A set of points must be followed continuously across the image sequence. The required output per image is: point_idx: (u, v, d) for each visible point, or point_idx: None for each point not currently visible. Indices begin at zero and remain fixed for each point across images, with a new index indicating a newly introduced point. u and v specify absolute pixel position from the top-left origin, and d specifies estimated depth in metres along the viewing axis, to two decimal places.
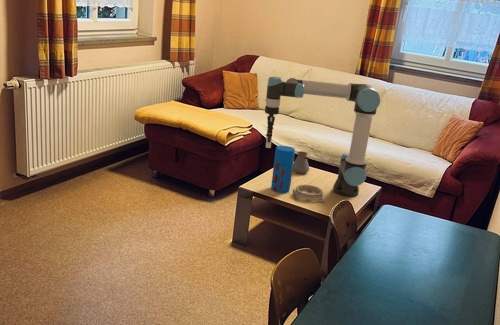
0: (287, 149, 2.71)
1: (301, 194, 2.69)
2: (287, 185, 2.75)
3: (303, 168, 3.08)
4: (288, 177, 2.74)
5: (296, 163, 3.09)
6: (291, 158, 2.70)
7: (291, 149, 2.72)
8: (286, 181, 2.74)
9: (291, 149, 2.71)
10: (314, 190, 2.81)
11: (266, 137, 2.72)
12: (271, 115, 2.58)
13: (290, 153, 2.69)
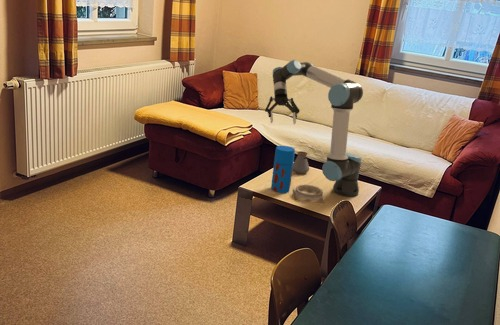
0: (287, 149, 2.71)
1: (301, 194, 2.69)
2: (287, 185, 2.75)
3: (303, 168, 3.08)
4: (288, 177, 2.74)
5: (296, 163, 3.09)
6: (291, 158, 2.70)
7: (291, 149, 2.72)
8: (286, 181, 2.74)
9: (291, 149, 2.71)
10: (314, 190, 2.81)
11: (293, 121, 2.82)
12: None
13: (290, 153, 2.69)
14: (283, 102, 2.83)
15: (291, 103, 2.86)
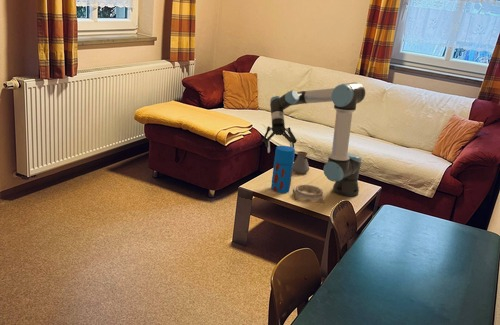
0: (287, 149, 2.71)
1: (301, 194, 2.69)
2: (287, 185, 2.75)
3: (303, 168, 3.08)
4: (288, 177, 2.74)
5: (296, 163, 3.09)
6: (291, 158, 2.70)
7: (291, 149, 2.72)
8: (286, 181, 2.74)
9: (291, 149, 2.71)
10: (314, 190, 2.81)
11: None
12: (272, 126, 2.87)
13: (290, 153, 2.69)
14: (280, 132, 2.85)
15: (288, 132, 2.87)
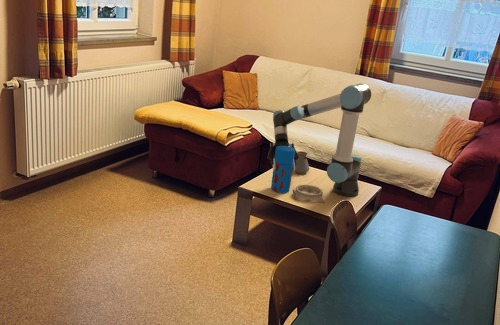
0: (287, 149, 2.71)
1: (301, 194, 2.69)
2: (287, 185, 2.75)
3: (303, 168, 3.08)
4: (288, 177, 2.74)
5: (296, 163, 3.09)
6: (291, 158, 2.70)
7: (291, 149, 2.72)
8: (286, 181, 2.74)
9: (291, 149, 2.71)
10: (314, 190, 2.81)
11: None
12: (275, 142, 2.81)
13: (290, 153, 2.69)
14: None
15: None
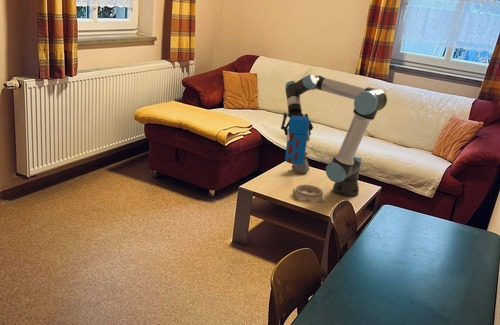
0: (301, 118, 2.64)
1: (301, 194, 2.69)
2: (302, 156, 2.68)
3: (303, 168, 3.08)
4: (303, 147, 2.67)
5: None
6: (306, 127, 2.63)
7: (306, 119, 2.65)
8: (300, 152, 2.67)
9: (306, 119, 2.64)
10: (314, 190, 2.81)
11: None
12: (288, 112, 2.74)
13: (305, 122, 2.62)
14: None
15: None
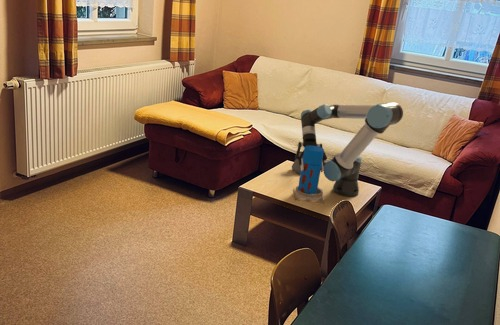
0: (316, 149, 2.65)
1: (301, 194, 2.69)
2: (315, 186, 2.70)
3: None
4: (316, 178, 2.68)
5: (296, 163, 3.09)
6: (320, 158, 2.65)
7: (320, 149, 2.66)
8: (314, 182, 2.68)
9: (320, 149, 2.66)
10: None
11: None
12: (303, 142, 2.75)
13: (319, 153, 2.63)
14: None
15: None
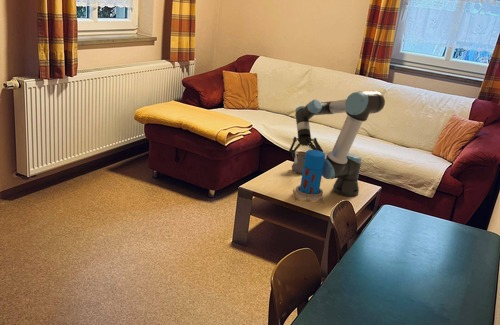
0: (317, 154, 2.65)
1: (301, 194, 2.69)
2: (316, 190, 2.70)
3: None
4: (318, 182, 2.68)
5: (296, 163, 3.09)
6: (322, 163, 2.64)
7: (322, 154, 2.65)
8: (315, 187, 2.68)
9: (322, 154, 2.65)
10: None
11: None
12: (298, 137, 2.86)
13: (321, 158, 2.62)
14: (307, 142, 2.84)
15: (314, 143, 2.87)
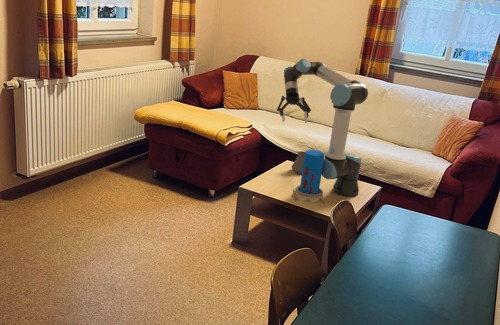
0: (317, 153, 2.66)
1: (301, 194, 2.69)
2: (316, 190, 2.70)
3: None
4: (317, 182, 2.69)
5: (296, 163, 3.09)
6: (321, 163, 2.65)
7: (321, 154, 2.66)
8: (315, 186, 2.69)
9: (321, 154, 2.66)
10: None
11: None
12: (286, 96, 2.88)
13: (320, 158, 2.63)
14: (295, 101, 2.86)
15: (302, 102, 2.89)
